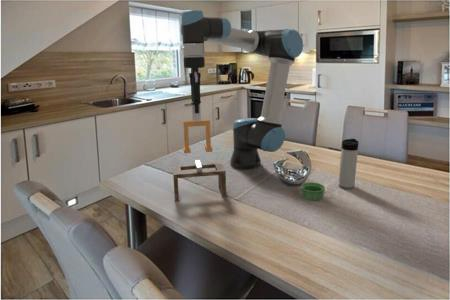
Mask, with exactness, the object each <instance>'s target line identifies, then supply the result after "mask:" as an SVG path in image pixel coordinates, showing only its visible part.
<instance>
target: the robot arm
mask: <svg viewBox="0 0 450 300" xmlns="http://www.w3.org/2000/svg"><path fill="white" fill-rule="evenodd" d="M180 34H181V35H182V46H181V50H182V51H183V56H184V57H183V67H184V69H190V72H188V78H189V85H190V95H191V97H190V99H191V103H190V105H191V112H192V113H191V115H192V120H193V122H201V120H202V119H201V102H202V101H201V77H202V74H201V72H199V69H203V68H205V66H206V65H205V64H206V63H205V57H204V56H205V43H206V42H207V43H211V44H215V45H216V44H217V45H223V46H229V47H233V48H239V49H243V50H244V49H245V51H246V52H248V53H253V54H256V55H260V56H263V57H264V56H265V57H268V58H267V59H268V61H269V62H270V67H269V71H268V76H267V82H266V86H265V87H266V88H265V92H264V98H263V102H262V109H261V112H260V113H261V114H260V116H259V117H258V118H255V117H254V118H253V117H248V118H247V117H246V118H239V119H236V120H235V121H234V122H233V127H232V131H233V134H232V135H233V139H232V140H233V151H232V153H231V157H230V162H229V163H230V167H231V168H234V169H238V170H254V169H257V168H260V167H261V165H262V161H261V157H260V153H259V151H258V150H261V151H263V152H269V153H274V152H276V151H278V150H279V149H280V148H281V147H282V146H283V145H284V142H285V139H286V133H285V130H284V128H282V126H283V123H282V121H281V120H280V119H281V115H282V108H283V104H284V99H285V93H286V88H287V84H288V78H289V73H290V72H289V71H290V69H291V66H292V65H293V64H295V61H296V58H298V57H299V56H301V54H302V53H303V49H304V41H303V38H302V35H301V33H299V31H297V30H296V29H289V28H285V29H268V30H267V29H266V30H254V29H251V30H249V31H248V30H243V29H239V28H235V27H232V25H231V22H230V20H229V19H228V18H226V17H225V18H224V17H221V16H219V17H216V16H215V17H209V16H207V17H206V16H204V12H203V11H202V10H198V9H189V10H188V9H187V10H183V11H182V13H181V25H180Z"/></svg>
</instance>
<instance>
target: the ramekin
mask: <svg viewBox="0 0 450 300" xmlns="http://www.w3.org/2000/svg"><path fill="white" fill-rule="evenodd" d="M300 188H301V195H302V198H303V199H304V200H306V201H309V202H316V201H317V202H319V201H321V200H322V199H324V194H325V191H326V186H325V185H323V184H322V183H319V182H311V181H308V182H305V183H302V184H301V186H300Z"/></svg>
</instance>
